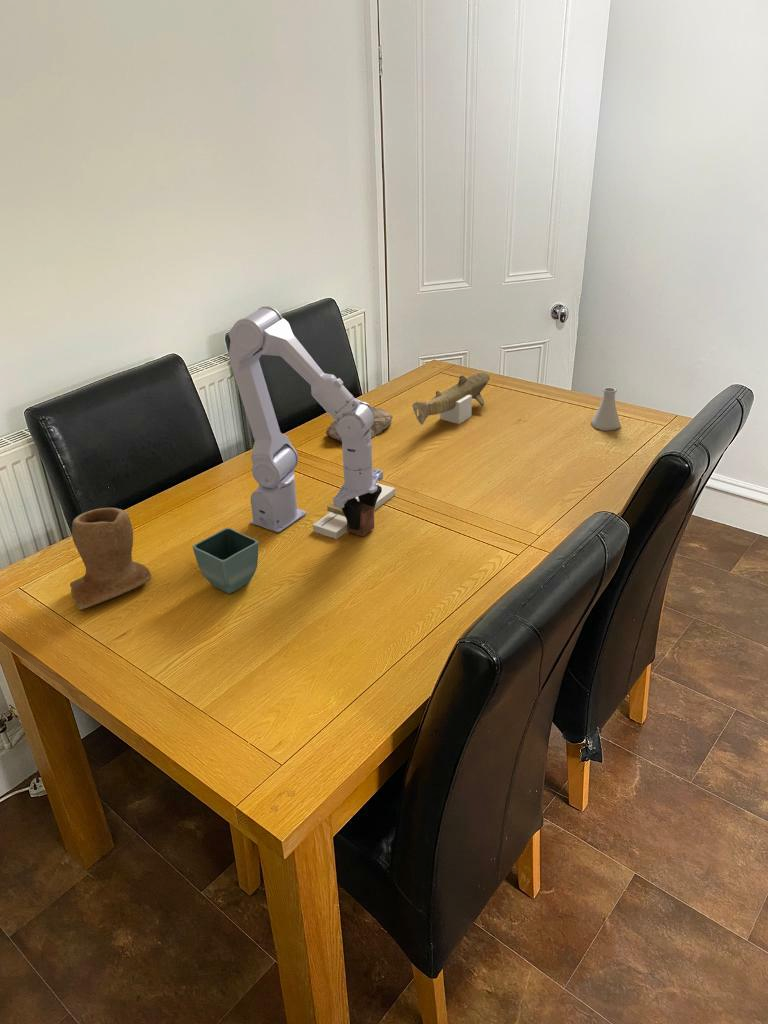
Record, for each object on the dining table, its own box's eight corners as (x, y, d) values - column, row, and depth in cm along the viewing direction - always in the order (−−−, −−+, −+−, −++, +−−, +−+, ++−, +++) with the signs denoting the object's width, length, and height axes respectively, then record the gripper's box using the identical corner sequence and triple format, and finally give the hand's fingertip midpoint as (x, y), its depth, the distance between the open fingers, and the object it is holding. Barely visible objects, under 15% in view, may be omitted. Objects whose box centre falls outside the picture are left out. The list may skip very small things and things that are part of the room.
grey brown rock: (354, 452, 200) (400, 423, 214) (352, 434, 198) (399, 406, 211) (310, 441, 208) (357, 413, 221) (308, 423, 205) (356, 397, 219)
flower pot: (233, 565, 157) (227, 526, 152) (264, 581, 152) (259, 540, 148) (197, 586, 151) (190, 546, 147) (229, 603, 146) (223, 562, 142)
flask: (585, 423, 211) (589, 387, 206) (607, 418, 213) (612, 382, 208) (603, 433, 205) (607, 396, 200) (625, 428, 208) (630, 391, 203)
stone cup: (133, 559, 160) (118, 493, 152) (160, 585, 152) (146, 516, 144) (57, 589, 152) (37, 520, 144) (81, 618, 143) (62, 547, 136)
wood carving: (398, 439, 205) (398, 398, 200) (471, 396, 229) (472, 358, 223) (428, 448, 200) (428, 406, 195) (499, 402, 224) (501, 364, 219)
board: (336, 539, 164) (336, 532, 163) (313, 531, 167) (312, 524, 166) (395, 494, 180) (395, 487, 179) (373, 487, 183) (372, 481, 182)
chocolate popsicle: (363, 536, 164) (362, 515, 162) (324, 523, 169) (322, 502, 167) (374, 527, 167) (373, 506, 165) (335, 515, 172) (334, 494, 169)
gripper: (352, 483, 152) (355, 545, 159) (394, 454, 162) (396, 513, 169) (322, 475, 155) (327, 535, 162) (366, 447, 166) (368, 504, 173)
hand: (360, 523), depth 166 cm, fingers closed on chocolate popsicle, 4 cm apart
